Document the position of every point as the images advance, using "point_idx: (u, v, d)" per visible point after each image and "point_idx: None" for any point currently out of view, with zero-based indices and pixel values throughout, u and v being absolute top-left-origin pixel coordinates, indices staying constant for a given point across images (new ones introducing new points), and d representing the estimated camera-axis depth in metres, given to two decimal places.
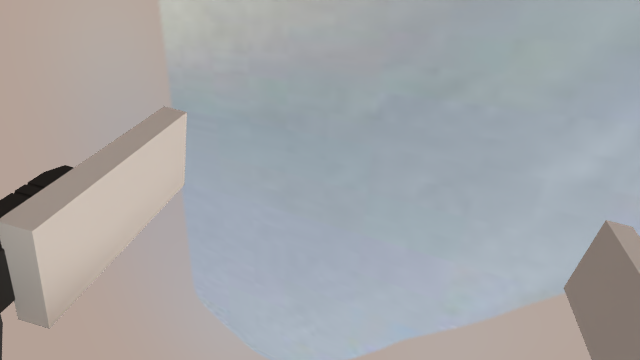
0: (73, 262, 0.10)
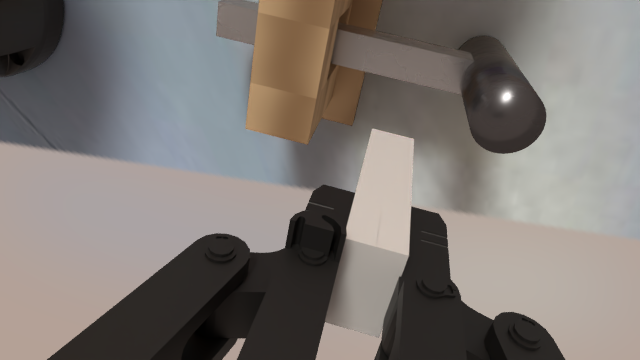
0: None
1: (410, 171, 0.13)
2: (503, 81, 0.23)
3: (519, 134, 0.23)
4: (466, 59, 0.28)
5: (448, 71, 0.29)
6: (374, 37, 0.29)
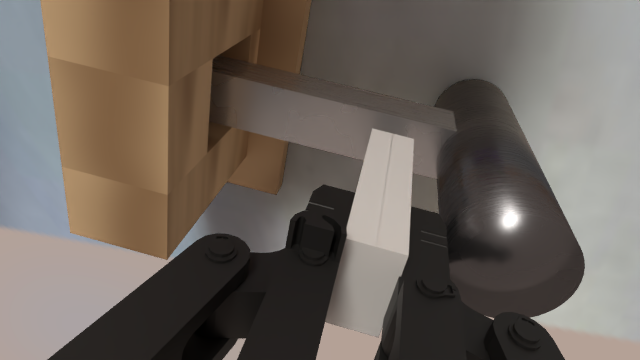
0: None
1: (410, 171, 0.13)
2: (503, 195, 0.12)
3: (533, 293, 0.13)
4: (444, 127, 0.18)
5: (416, 145, 0.18)
6: (299, 91, 0.18)
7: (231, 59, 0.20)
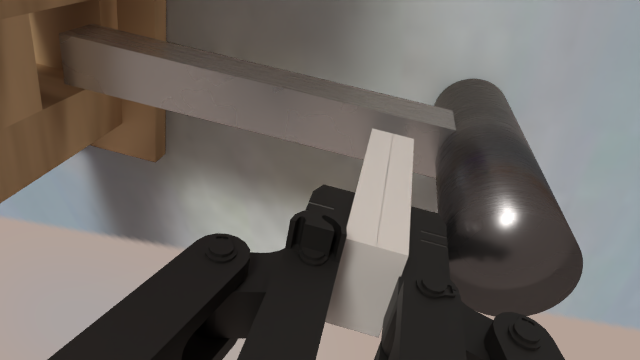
0: None
1: (410, 171, 0.13)
2: (502, 194, 0.12)
3: (532, 291, 0.13)
4: (443, 126, 0.18)
5: (415, 144, 0.18)
6: (299, 90, 0.18)
7: (231, 58, 0.20)
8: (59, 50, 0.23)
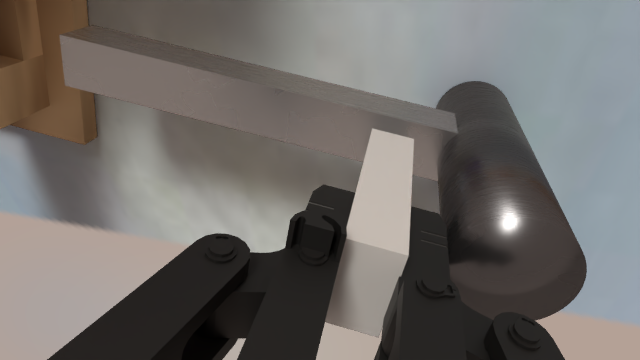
0: None
1: (410, 171, 0.13)
2: (505, 199, 0.12)
3: (535, 296, 0.13)
4: (446, 129, 0.17)
5: (417, 147, 0.18)
6: (300, 92, 0.18)
7: (232, 60, 0.20)
8: None
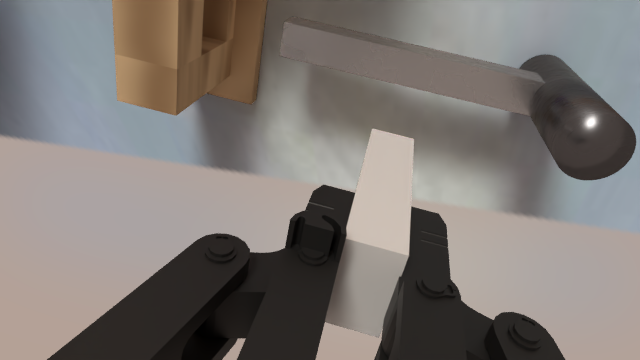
0: None
1: (410, 171, 0.13)
2: (590, 107, 0.23)
3: (606, 161, 0.23)
4: (537, 81, 0.28)
5: (517, 93, 0.28)
6: (442, 58, 0.28)
7: (389, 39, 0.30)
8: None
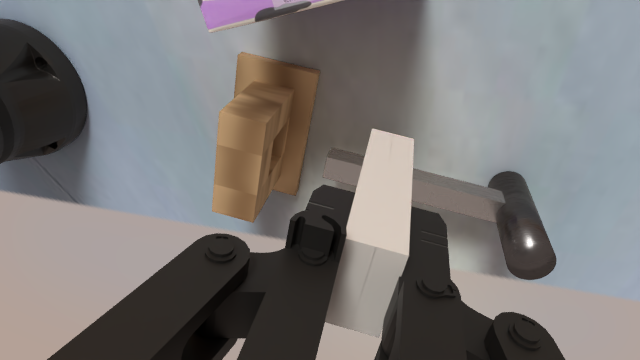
0: None
1: (410, 171, 0.13)
2: (528, 235, 0.36)
3: (539, 269, 0.36)
4: (500, 201, 0.41)
5: (487, 208, 0.41)
6: (436, 184, 0.41)
7: None
8: None
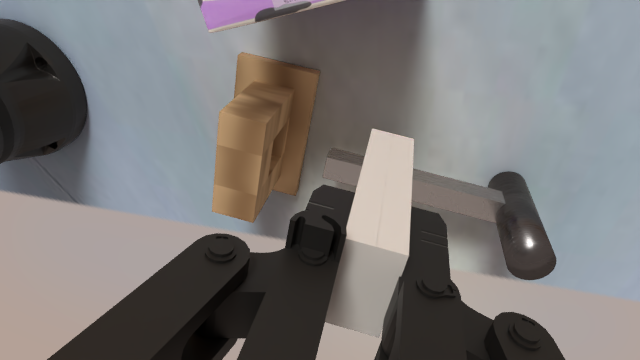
0: None
1: (410, 171, 0.13)
2: (528, 236, 0.36)
3: (538, 270, 0.36)
4: (500, 201, 0.41)
5: (487, 208, 0.41)
6: (436, 184, 0.41)
7: None
8: None
